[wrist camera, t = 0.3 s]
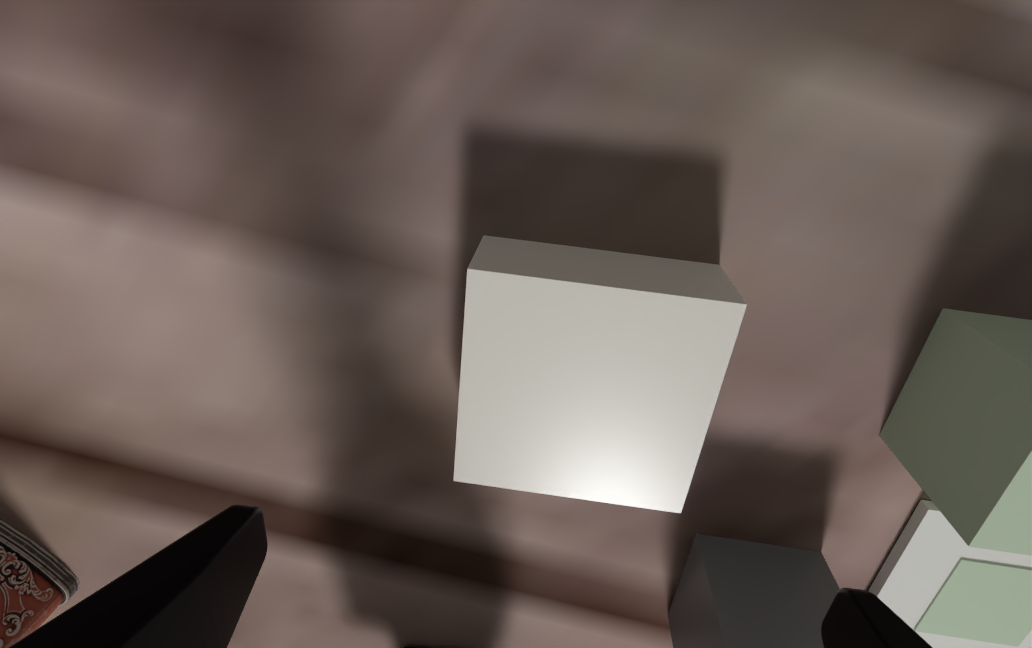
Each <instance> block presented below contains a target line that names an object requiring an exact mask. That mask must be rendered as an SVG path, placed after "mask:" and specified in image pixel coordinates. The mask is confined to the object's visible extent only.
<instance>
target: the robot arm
mask: <svg viewBox="0 0 1032 648" xmlns="http://www.w3.org/2000/svg"><path fill="white" fill-rule="evenodd" d="M266 552H267V537H266V530H265V524H264V517H263V512H262V510H261V509H260V508H259V507H256V506H249V505H241V504H235V505H232V506H230V507H228V508H227V509H225V510H223V511H222V512H220V513H219V514H217V515H216V516H214V517H212V518H211V519H209V520H208V521H206V522H205V523H203V524H202V525H200V526H198V527H197V528H195V529H194V530H192V531H191V532H189V533H187V534H186V535H184V536H183V537H181V538H180V539H178V540H176V541H175V542H173V543H172V544H170V545H169V546H167V547H165V548H164V549H162V550H161V551H159V552H158V553H156V554H154V555H153V556H151V557H150V558H148V559H147V560H145V561H143V562H142V563H140V564H139V565H137V566H136V567H134V568H132V569H131V570H129V571H128V572H126V573H125V574H123V575H122V576H120V577H118V578H117V579H115V580H114V581H112V582H111V583H109V584H107V585H106V586H104V587H103V588H101V589H100V590H98V591H96V592H95V593H93V594H92V595H90V596H89V597H87V598H85V599H84V600H82V601H81V602H79V603H78V604H76V605H74V606H73V607H71V608H70V609H68V610H67V611H65V612H63V613H62V614H60V615H59V616H57V617H56V618H54V619H52V620H51V621H49V622H48V623H46V624H45V625H43V626H41V627H40V628H38V629H37V630H35V631H34V632H32V633H31V634H29V635H27V636H26V637H24V638H23V639H21V640H20V641H18V642H16V643H15V644H13V645H12V646H10V647H9V648H227V646H228V644H229V642H230V639H231V637H232V635H233V632H234V630H235V628H236V625H237V623H238V620H239V618H240V616H241V613H242V611H243V609H244V606H245V604H246V602H247V599H248V597H249V595H250V592H251V590H252V588H253V585H254V583H255V581H256V578H257V576H258V574H259V571H260V569H261V567H262V564H263V562H264V559H265V556H266ZM821 637H822V642H823V646H824V648H933V647H932V646H931V645H929V644H928V643H927V642H926V641H925V640H924V639H923V638H922V637H921V636H920V635H918V634H917V633H916V632H915V631H914V630H913V629H912V628H911V627H910V626H909V625H908V624H906V623H905V622H904V621H903V620H902V619H901V618H900V617H899V616H898V615H897V614H895V613H894V612H893V611H892V610H891V609H890V608H889V607H888V606H887V605H886V604H885V603H883V602H882V601H881V600H880V599H879V598H878V597H877V596H876V595H874V594H873V593H871V592H869V591H866V590H859V589H852V588H842V589H840V590H839V591H838V592H837V593H836V595H835V597H834V599H833V601H832V603H831V605H830V607H829V609H828V611H827V613H826V615H825V617H824V619H823V621H822V625H821ZM405 648H413V647H405Z"/></svg>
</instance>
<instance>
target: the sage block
mask: <svg viewBox="0 0 1032 648" xmlns="http://www.w3.org/2000/svg"><path fill="white" fill-rule="evenodd" d="M879 436H880V437H881V438H882V440H883V441H884V442H885V443H886V445H887V446H888V447H889V448H890V450H891V451H892V452H893V453H894V455H895V456H896V457H897V458H898V460H899V461H900V462H901V463H902V465H903V466H904V467H905V468H906V470H907V471H908V472H909V473H910V475H911V476H912V477H913V478H914V479H915V481H916V482H917V483H918V484H919V486H920V487H921V488H922V489H923V491H924V492H925V493H926V494H927V496H928V497H929V498H930V499H931V501H932V502H933V503H934V504H935V506H936V507H937V508H938V509H939V511H940V512H941V513H942V514H943V516H944V517H945V518H946V519H947V520H948V522H949V523H950V524H951V525H952V527H953V528H954V529H955V530H956V532H957V533H958V534H959V535H960V537H961V538H962V539H963V540H964V542H965V543H966V544H967V545H968V546H969V547H976V548H982V549H989V550H996V551H1003V552H1010V553H1016V554H1023V555H1030V556H1032V320H1028V319H1020V318H1013V317H1005V316H998V315H990V314H983V313H975V312H968V311H960V310H953V309H945V308H943V309H942V311H941V313H940V315H939V317H938V319H937V321H936V323H935V325H934V327H933V329H932V331H931V333H930V335H929V337H928V339H927V341H926V343H925V345H924V347H923V349H922V351H921V353H920V355H919V357H918V359H917V361H916V363H915V365H914V367H913V369H912V371H911V373H910V375H909V377H908V379H907V381H906V383H905V385H904V387H903V389H902V391H901V393H900V395H899V397H898V399H897V401H896V403H895V405H894V407H893V409H892V411H891V413H890V415H889V417H888V419H887V421H886V423H885V425H884V427H883V429H882V431H881V433H880V435H879Z"/></svg>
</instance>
